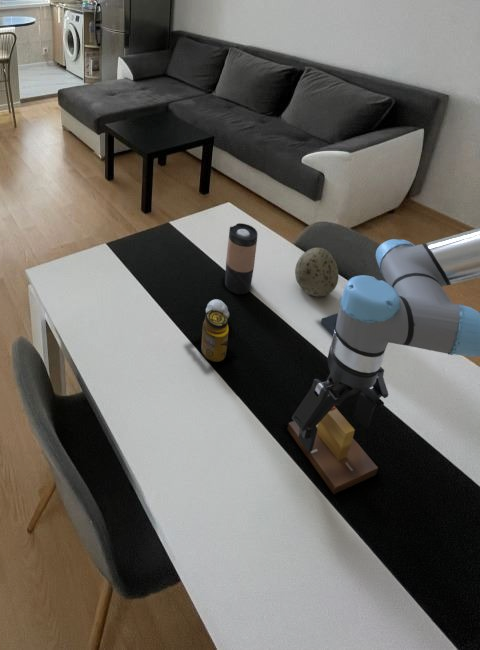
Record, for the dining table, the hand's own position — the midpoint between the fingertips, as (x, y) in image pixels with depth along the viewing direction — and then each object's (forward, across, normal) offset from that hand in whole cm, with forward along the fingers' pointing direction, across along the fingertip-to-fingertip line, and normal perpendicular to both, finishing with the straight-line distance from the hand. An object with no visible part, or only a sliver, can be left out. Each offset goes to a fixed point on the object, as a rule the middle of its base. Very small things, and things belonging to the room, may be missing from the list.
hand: (333, 432), depth 83 cm
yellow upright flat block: (+3, 0, 0) cm, 3 cm away
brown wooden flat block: (+6, 0, 0) cm, 6 cm away
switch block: (+6, -26, -20) cm, 33 cm away
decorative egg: (+6, -29, -35) cm, 46 cm away
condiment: (+6, +10, -27) cm, 29 cm away
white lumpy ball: (+6, +3, -35) cm, 36 cm away
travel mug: (+6, -10, -44) cm, 45 cm away
